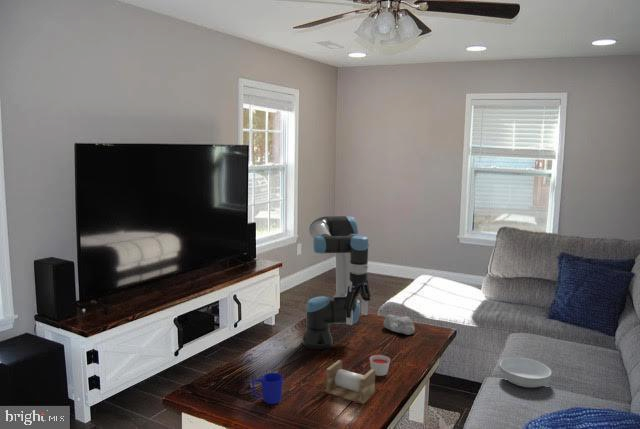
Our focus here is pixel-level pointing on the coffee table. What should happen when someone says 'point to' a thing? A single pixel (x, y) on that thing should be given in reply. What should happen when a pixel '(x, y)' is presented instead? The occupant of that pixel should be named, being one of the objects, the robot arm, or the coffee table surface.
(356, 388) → the paper roll
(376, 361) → the candle
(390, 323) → the decorative stone
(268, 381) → the mug
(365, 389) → the oak roll cradle
